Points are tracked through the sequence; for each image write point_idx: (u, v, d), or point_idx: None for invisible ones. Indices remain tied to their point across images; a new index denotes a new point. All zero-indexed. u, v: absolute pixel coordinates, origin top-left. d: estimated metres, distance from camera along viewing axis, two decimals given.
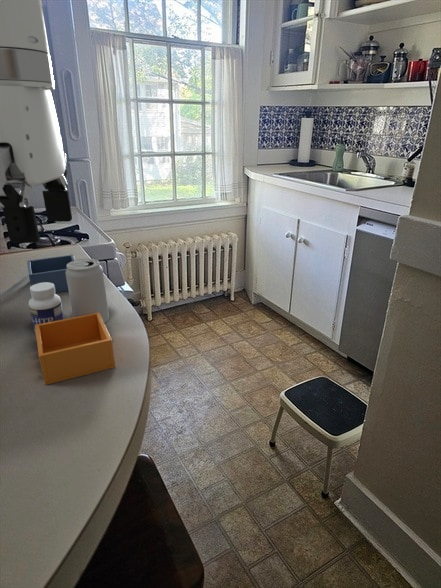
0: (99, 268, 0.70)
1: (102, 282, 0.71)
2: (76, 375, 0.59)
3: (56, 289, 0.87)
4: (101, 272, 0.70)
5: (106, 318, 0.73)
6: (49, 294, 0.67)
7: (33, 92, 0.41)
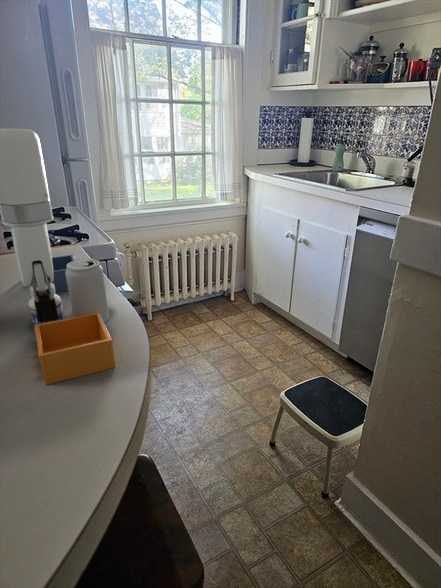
0: (99, 268, 0.70)
1: (102, 282, 0.71)
2: (76, 375, 0.59)
3: (56, 289, 0.87)
4: (101, 272, 0.70)
5: (106, 318, 0.73)
6: None
7: None
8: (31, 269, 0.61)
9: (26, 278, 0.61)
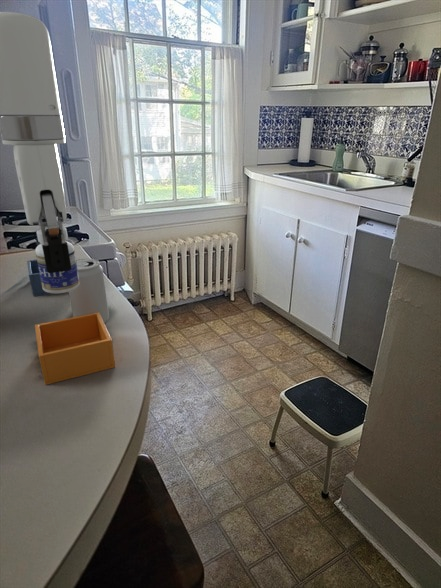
0: (99, 268, 0.70)
1: (102, 282, 0.71)
2: (76, 375, 0.59)
3: None
4: (101, 272, 0.70)
5: (106, 318, 0.73)
6: None
7: None
8: (39, 200, 0.49)
9: (33, 212, 0.49)
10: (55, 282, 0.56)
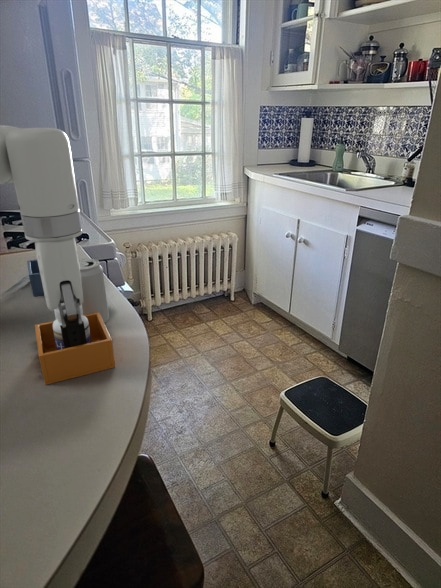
0: (99, 268, 0.70)
1: (102, 282, 0.71)
2: (76, 375, 0.59)
3: None
4: (101, 272, 0.70)
5: (106, 318, 0.73)
6: None
7: None
8: (59, 290, 0.53)
9: (53, 301, 0.53)
10: None
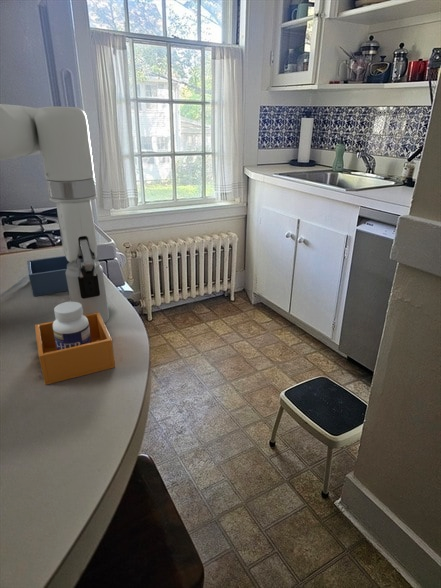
0: (99, 268, 0.70)
1: (102, 282, 0.71)
2: (76, 375, 0.59)
3: (56, 289, 0.87)
4: (101, 272, 0.70)
5: (106, 318, 0.73)
6: (76, 316, 0.59)
7: None
8: (77, 244, 0.63)
9: (72, 253, 0.63)
10: None
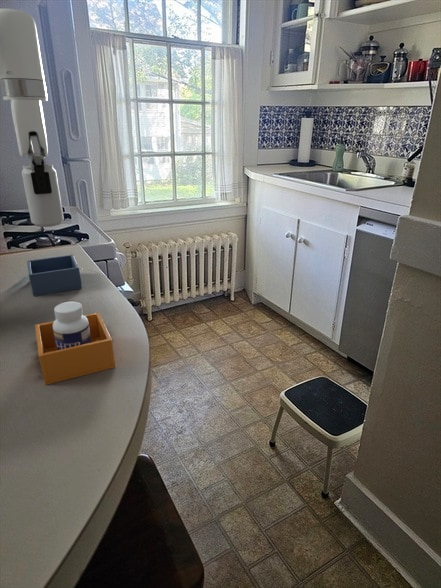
0: (52, 169, 0.78)
1: (55, 183, 0.79)
2: (76, 375, 0.59)
3: (56, 289, 0.87)
4: (54, 173, 0.78)
5: (60, 219, 0.81)
6: (76, 316, 0.59)
7: (41, 103, 0.73)
8: (28, 139, 0.71)
9: (23, 147, 0.71)
10: None
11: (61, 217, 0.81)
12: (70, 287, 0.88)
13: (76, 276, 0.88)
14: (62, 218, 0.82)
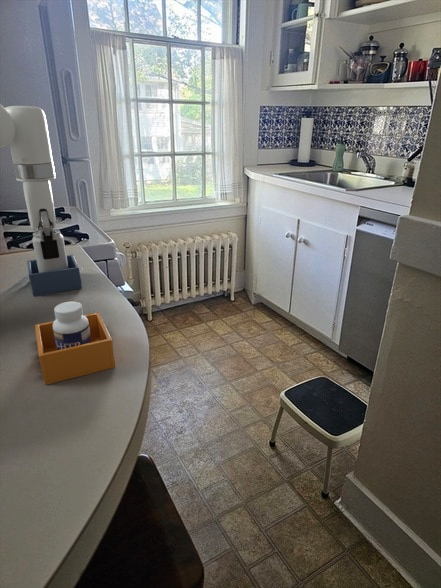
0: (59, 236, 0.86)
1: (62, 248, 0.87)
2: (76, 375, 0.59)
3: (56, 289, 0.87)
4: (61, 239, 0.86)
5: None
6: (76, 316, 0.59)
7: None
8: (38, 215, 0.80)
9: (34, 222, 0.80)
10: None
11: None
12: (70, 287, 0.88)
13: (76, 276, 0.88)
14: None
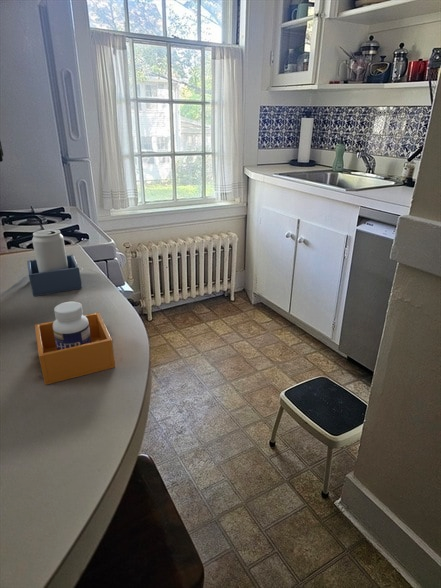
0: (59, 236, 0.86)
1: (62, 248, 0.87)
2: (76, 375, 0.59)
3: (56, 289, 0.87)
4: (61, 239, 0.86)
5: None
6: (76, 316, 0.59)
7: None
8: None
9: None
10: None
11: None
12: (70, 287, 0.88)
13: (76, 276, 0.88)
14: None
